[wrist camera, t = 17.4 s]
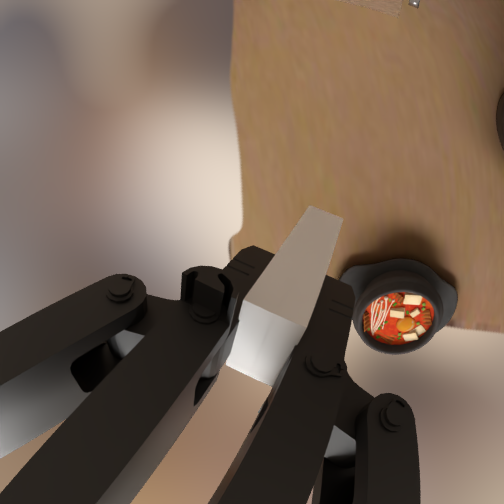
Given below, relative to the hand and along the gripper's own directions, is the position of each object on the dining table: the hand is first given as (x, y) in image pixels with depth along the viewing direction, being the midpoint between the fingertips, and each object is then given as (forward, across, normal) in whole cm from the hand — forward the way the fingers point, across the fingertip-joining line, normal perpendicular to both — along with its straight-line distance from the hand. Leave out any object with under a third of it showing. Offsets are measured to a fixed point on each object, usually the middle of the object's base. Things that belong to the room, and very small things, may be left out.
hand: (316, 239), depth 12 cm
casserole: (+35, +18, -22) cm, 45 cm away
